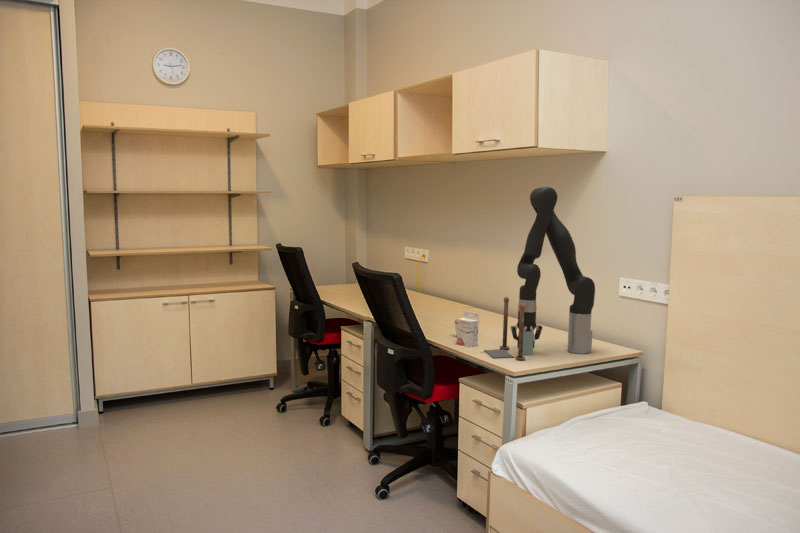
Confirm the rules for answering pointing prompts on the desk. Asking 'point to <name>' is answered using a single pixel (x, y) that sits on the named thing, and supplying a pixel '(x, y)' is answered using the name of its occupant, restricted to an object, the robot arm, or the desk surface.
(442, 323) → the desk surface
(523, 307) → the post
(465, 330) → the ink cartridge box
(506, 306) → the post
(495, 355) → the mat
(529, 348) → the block
